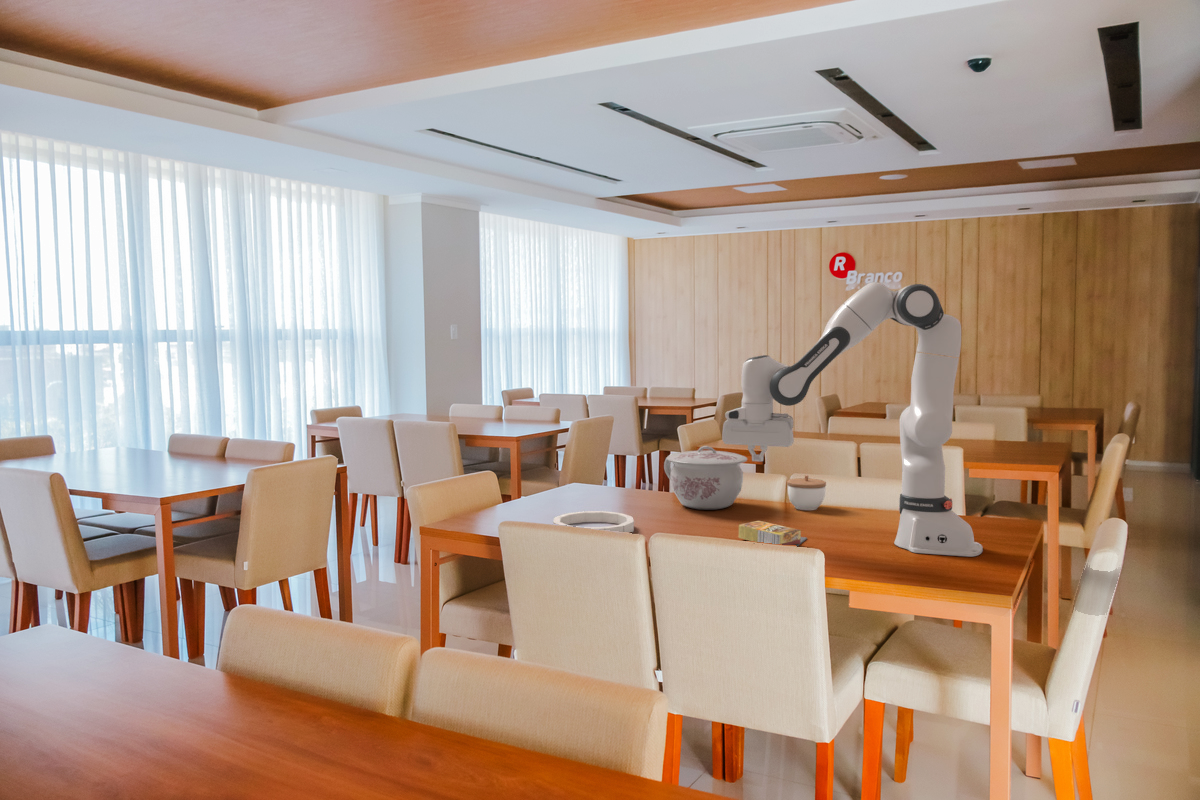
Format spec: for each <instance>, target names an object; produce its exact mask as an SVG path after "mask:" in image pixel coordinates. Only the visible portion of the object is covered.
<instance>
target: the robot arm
mask: <svg viewBox="0 0 1200 800" xmlns="http://www.w3.org/2000/svg"><path fill="white" fill-rule="evenodd" d="M888 319H891V320H893V321H894V322H897V323H898V324H901V325H904V326H908V327H914V328H915V330H916V331H917V337H918V338H917V339H918V342H917V345H916V346H917V347H916V352H915V355H914V356H915V357H914V362H913V368H912V373H911V378H910V379H911V380H910V385H911V387H910V388H911V389H910V390H911V391H910V405H909V406H907V407H906V408H904V409H903V410H902V412H901V414H900V415H899V421H898V422H899V423H898V424H899V442H900V443H899V445H900V455H901V469H902V470H901V473H902V474H901V493H900V494H899V501H898V503H899V504H898V509H899V510H898V511H899V514H900V516H899V522H898V529H897V533H896V536H895V538H894V539H895V540H894V542H893V543H894V545H895V546H896V547H899V548H902V549H905V550H908V551H909V552H911V553H915V554H927V555H928V554H929V555H942V556H956V557H972V558H973V557H977V556H979V555H981V554H982V553H983V551H984V550H983V548H984V547H983V544H980V542H977V541H975V538H974V537H975V536H974V532H973V529H972V526H971V525H970V524H969V523H968V522H967V521H966V520H964V519H963V518H962V517H960V516H959V514H957V513H956V512H954V511H953V498H952V497H948V496H946V495H945V493H946V492H945V489H946V487H945V486H946V485H945V483H946V465H945V461H944V453H943V445H944V444H946V443H947V442H948V441H949V440H950V438H951V436H952V434H953V414H954V392H955V391H954V390H955V384H956V383H955V382H956V378H957V373H958V366H959V360H960V354H961V348H962V325H961V322H960V320H959V319H958V318H957V317H955V316H953V315H950V314H945V312H944V309H943V307H942V305H941V301H940V298H939V296H938V294H937V293H936V291H935V290H934V289H933V288H931V287H930V286H928V285H926V284H923V283H915V284H909V285H906V286H904V287H903V288H900V289H898V290H892V289H890V288H889V287H888V286H887V285H885V284H883V283H881V282H877V281H876V282H875V281H874V282H873V281H872V282H869V283H867V284H866V285H864V286H863V287H861V288H860V289H859V290H857V291H856V292H854V293H853V294H852V295H851V296H850V297H848V298H847V300H845V301H844V302H843V303H842V304H841V305H840V306H839V307H838V308H837V309H836V310H835V312H834V313H833V315H832V316H830V318H829V320H828V321H827V323H826V325H825V327H824V330H823V332H822V334H821V336H820V338H819V339H818V340H817V342H816V343H815V344H814V345H813V346H812V347H811V348H810V349H809V350H808V351H807V352H806V353H805V354H804V355H803V356H802V357H801V358H800V359H799V360H798V361H797V362H796V363H793V364H792V365H791V366H790V365H787V364H784V363H782V362H780V361H777V360H775V359H774V358H772V357H771V356H770V355H757V356H753V357H748V358H747V359H746V360H745V361H744V362H743V364H742V368H741V378H740V379H741V383H740V384H741V385H740V386H741V391H742V398H741V407H736V408H734V409H731V410H728V411H726V412H725V414H724V415H725V416H724V417H725V419H726V420H725V421H723V424H722V425H723V426H722V432H721V433H722V439H721V440H722V442H723V444H724V445H739V446H747V450H748V451H749V453H750V455H751V461H752V462H764V456H765V454H766V452H767V450H768V447H779V448H780V447H783V448H789V447H791V446H792V445H793V444H794V442H795V441H794V440H795V439H794V430H793V428H794V418H793V417H792V415H790V414H789V413H779V412H778V413H776V412H774V401H775V402H777V403H778V404H780V405H783V406H795V405H797V404H800V403H801V402H802V401H803V400H804V399H805V398H806V396H807V394H808V392H809V389H810V386H811V384H812V382H813V381H814V379H815V378H817V376H818V375H820V374H821V372H823V370H825V369H826V367H828V365H830V364H831V362H832V361H833V360H835V359H836V358H838V356H840V355H842V354H843V353H845V352H846V351H849V350H850V349H852V348H853V347H855V346H856V345H858V344H859V343H860V342H862V341H863V340H864V339H866V338H867V337H869V335H870V334H871V333H873V332H874V330H876V328H878V326H880V324H882V323H883V322H884V321H886V320H888ZM756 446H757V447H758V446H760V450H761V452H760V453H759V454H756V452H755V450H754V449H755V448H756Z"/></svg>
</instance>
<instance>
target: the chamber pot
mask: <svg viewBox="0 0 1200 800" xmlns="http://www.w3.org/2000/svg"><path fill="white" fill-rule="evenodd" d="M747 461H748V457H746V456H745V455H742V454H739V453H736V452H729V451H724V450H723V451H722V450H716V449H714V448H713V447H712V446H709V445H703V446H700V447H699V448H698V449H697V450H687V451H681V452H675V453H670V454H669V455H667V457H665V460H664V462H663V469H664V473H665V475H666V476H667V478H668V479H669V480H670V484H671V489H672V491H673V493H674V494H675V496H676V498H677V499H678V502H680V504H681V505H683V506H684V507H687V508H690V509H692V510H700V511H716V510H722V509H726V508H728V507H730V506H732V505H733V504H734V502H735V501H736V499H737V498H738V496H739V495H740V493H741V491H742V487H743V481H744V472H743V470H742V468H741V464H742V463H746V462H747ZM671 463H672V464H673V466H672V468H671Z"/></svg>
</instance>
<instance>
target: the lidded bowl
mask: <svg viewBox="0 0 1200 800" xmlns="http://www.w3.org/2000/svg"><path fill="white" fill-rule="evenodd" d="M786 485H787V496H788V499H789V502H790V503H791V504H792V506H794V509H796V510H800V511H815V510H816V511H817V510H818V508H819V507H820V506H821V505H822V503H824V499H825V496H826V486H827V482H826V481H825V480H823V479H818V478H809V475H804V478H803V477H801V478H790V479H788V480H787V482H786Z"/></svg>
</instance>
